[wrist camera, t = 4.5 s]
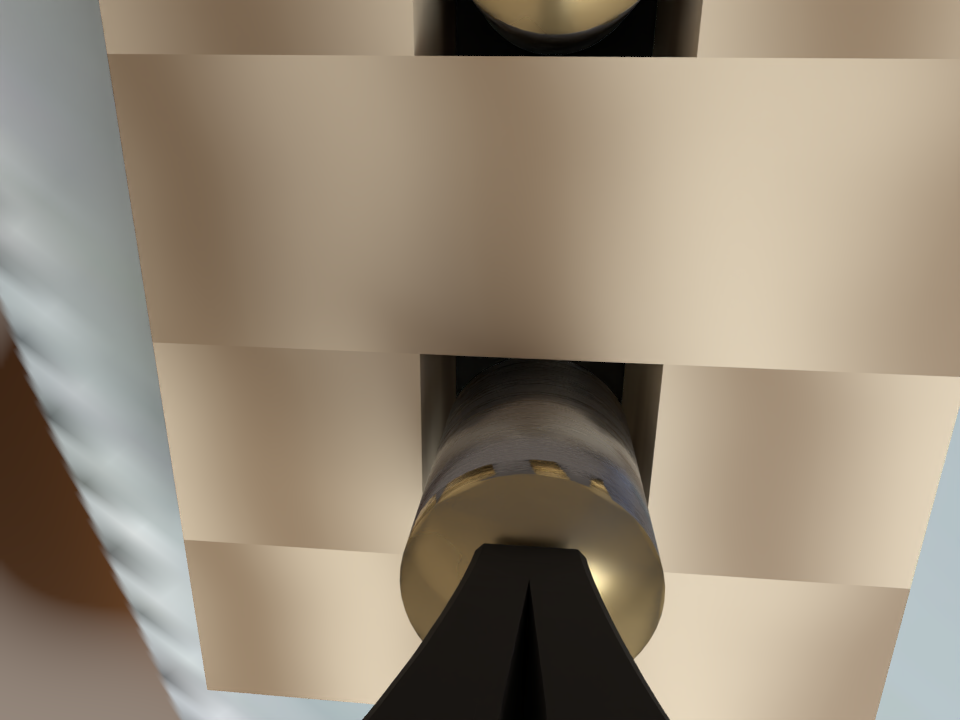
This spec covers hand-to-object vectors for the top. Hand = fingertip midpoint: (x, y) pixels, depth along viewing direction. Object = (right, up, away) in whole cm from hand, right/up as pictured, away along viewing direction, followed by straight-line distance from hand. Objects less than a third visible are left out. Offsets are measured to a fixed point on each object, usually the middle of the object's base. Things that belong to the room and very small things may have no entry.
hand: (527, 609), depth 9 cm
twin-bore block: (+1, +7, +7) cm, 10 cm away
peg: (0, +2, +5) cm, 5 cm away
